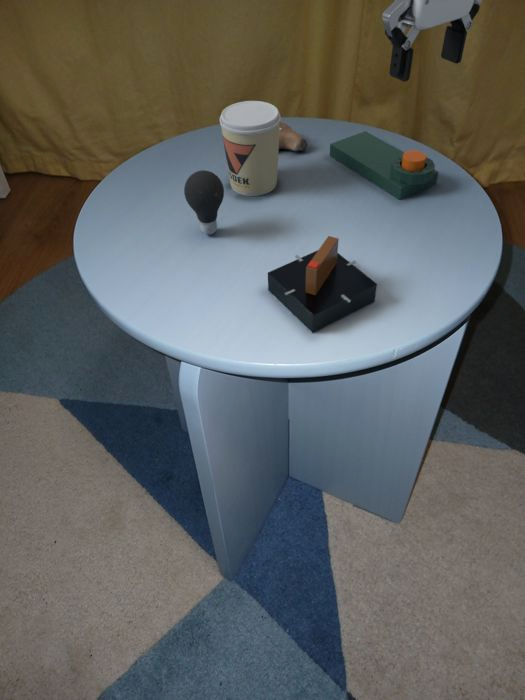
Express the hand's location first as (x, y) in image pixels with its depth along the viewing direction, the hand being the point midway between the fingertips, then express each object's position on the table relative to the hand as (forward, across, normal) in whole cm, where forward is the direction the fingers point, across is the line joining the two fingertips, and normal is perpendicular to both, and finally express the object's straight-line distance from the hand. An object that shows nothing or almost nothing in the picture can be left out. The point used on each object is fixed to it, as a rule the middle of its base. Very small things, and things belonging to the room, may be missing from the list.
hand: (425, 69), depth 76 cm
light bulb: (+19, +31, -9) cm, 38 cm away
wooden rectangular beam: (+16, +27, +12) cm, 33 cm away
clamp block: (+19, +27, +12) cm, 35 cm away
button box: (+19, -2, -8) cm, 20 cm away
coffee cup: (+19, +18, -17) cm, 31 cm away
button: (+15, -2, -1) cm, 15 cm away
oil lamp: (+19, +7, -25) cm, 32 cm away
